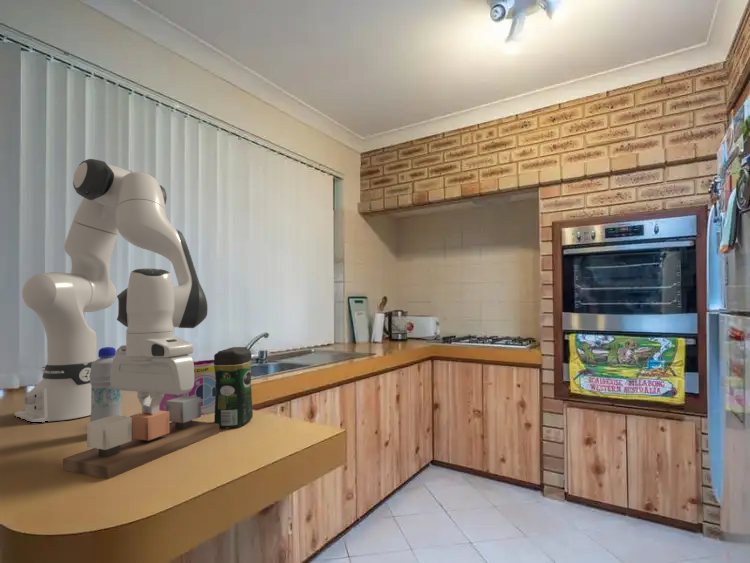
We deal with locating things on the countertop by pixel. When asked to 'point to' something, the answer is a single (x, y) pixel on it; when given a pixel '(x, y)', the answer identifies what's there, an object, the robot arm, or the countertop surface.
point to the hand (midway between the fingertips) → (150, 413)
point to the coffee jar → (233, 387)
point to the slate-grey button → (184, 409)
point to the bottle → (104, 387)
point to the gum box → (199, 387)
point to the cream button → (109, 432)
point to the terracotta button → (150, 425)
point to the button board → (138, 450)
